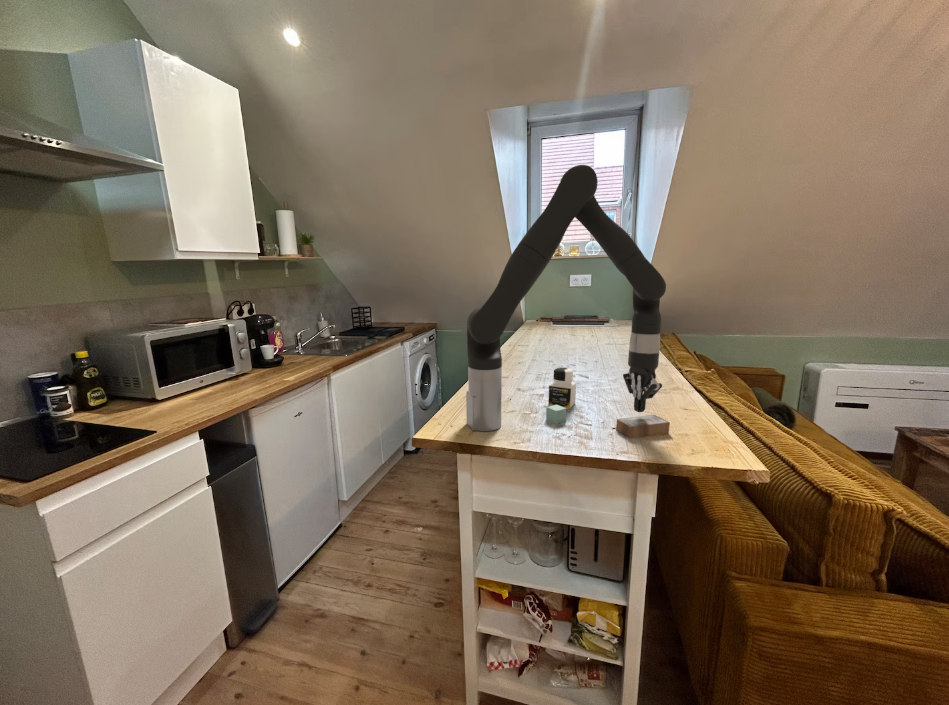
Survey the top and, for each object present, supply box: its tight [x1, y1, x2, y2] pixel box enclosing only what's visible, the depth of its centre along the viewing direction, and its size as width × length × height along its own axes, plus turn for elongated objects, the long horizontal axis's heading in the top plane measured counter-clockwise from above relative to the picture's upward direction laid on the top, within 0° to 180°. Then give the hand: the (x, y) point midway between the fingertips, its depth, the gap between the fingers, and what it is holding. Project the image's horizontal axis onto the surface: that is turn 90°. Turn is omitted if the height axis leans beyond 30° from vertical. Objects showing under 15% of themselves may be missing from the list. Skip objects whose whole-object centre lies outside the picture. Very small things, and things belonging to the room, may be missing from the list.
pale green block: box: [545, 405, 567, 425], centre depth 117 cm, size 4×4×4 cm
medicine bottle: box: [548, 367, 577, 410], centre depth 130 cm, size 7×7×12 cm
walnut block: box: [615, 414, 670, 439], centre depth 109 cm, size 6×4×12 cm
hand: (639, 411), depth 110 cm, fingers closed
